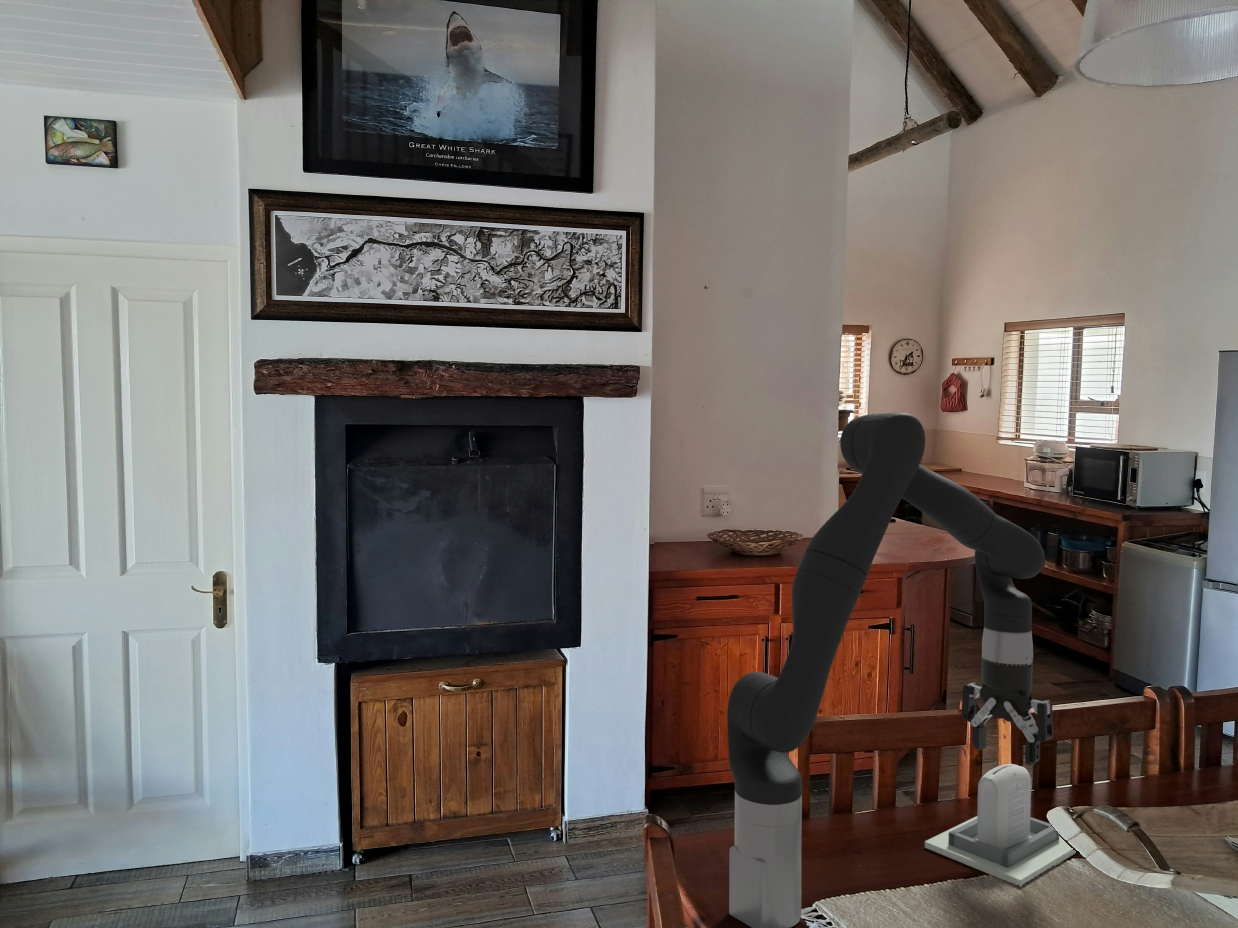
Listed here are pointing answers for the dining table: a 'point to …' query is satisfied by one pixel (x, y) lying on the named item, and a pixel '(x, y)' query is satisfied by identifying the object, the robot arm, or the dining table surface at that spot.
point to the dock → (1004, 851)
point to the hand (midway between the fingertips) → (1005, 756)
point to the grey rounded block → (1004, 806)
